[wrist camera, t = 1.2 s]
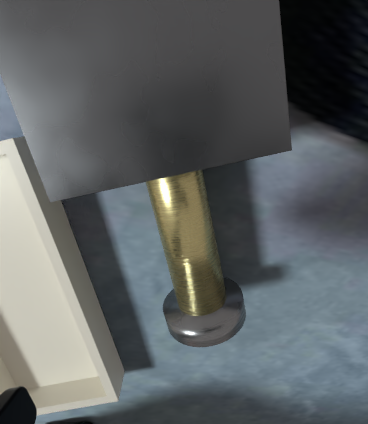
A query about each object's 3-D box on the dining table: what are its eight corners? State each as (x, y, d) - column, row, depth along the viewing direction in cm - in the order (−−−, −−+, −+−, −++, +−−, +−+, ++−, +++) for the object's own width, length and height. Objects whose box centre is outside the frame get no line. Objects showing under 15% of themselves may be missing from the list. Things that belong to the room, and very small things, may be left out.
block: (251, 137, 16) (292, 150, 10) (94, 172, 16) (50, 202, 10) (228, -39, 13) (265, -152, 7) (41, 8, 13) (-54, -65, 8)
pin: (237, 285, 19) (254, 337, 14) (168, 298, 19) (166, 354, 14) (198, 67, 14) (207, 47, 10) (110, 88, 15) (82, 76, 10)
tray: (124, 370, 21) (118, 401, 19) (19, 390, 21) (0, 421, 19) (36, 134, 15) (12, 138, 13) (-105, 167, 16) (-150, 175, 13)
